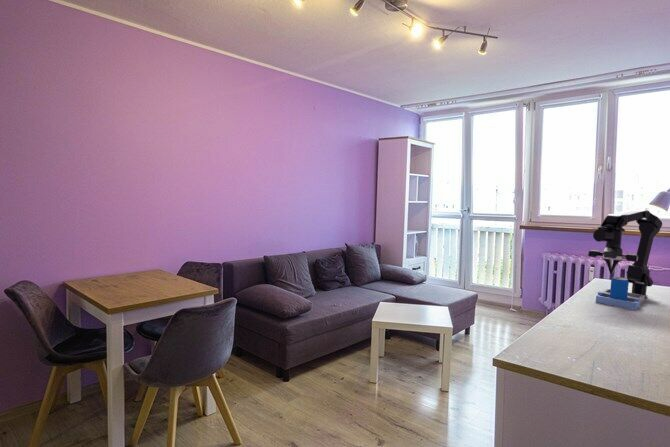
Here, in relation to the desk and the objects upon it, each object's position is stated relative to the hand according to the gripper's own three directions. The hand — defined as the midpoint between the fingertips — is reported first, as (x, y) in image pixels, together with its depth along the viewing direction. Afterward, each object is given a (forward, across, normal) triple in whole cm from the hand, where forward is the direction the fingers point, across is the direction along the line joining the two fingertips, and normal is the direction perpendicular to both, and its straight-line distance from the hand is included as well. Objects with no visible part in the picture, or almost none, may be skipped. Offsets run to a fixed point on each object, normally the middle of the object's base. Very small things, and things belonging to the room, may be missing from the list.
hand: (611, 273), depth 184 cm
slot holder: (+13, +4, -1) cm, 13 cm away
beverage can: (+13, +4, -6) cm, 15 cm away
